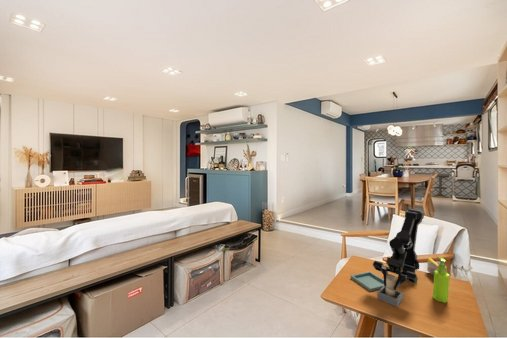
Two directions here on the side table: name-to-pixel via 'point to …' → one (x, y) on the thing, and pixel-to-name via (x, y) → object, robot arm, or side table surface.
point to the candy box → (432, 266)
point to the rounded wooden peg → (390, 285)
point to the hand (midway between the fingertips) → (389, 287)
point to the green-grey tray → (368, 280)
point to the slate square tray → (389, 299)
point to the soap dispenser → (441, 282)
